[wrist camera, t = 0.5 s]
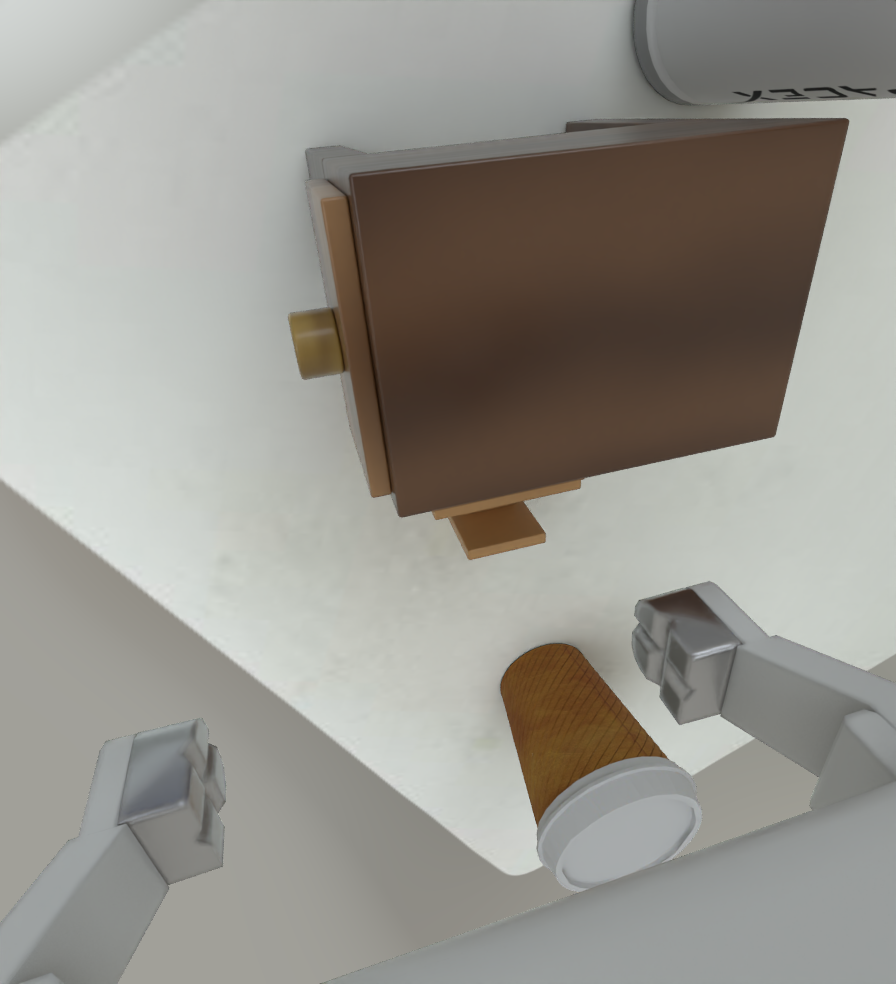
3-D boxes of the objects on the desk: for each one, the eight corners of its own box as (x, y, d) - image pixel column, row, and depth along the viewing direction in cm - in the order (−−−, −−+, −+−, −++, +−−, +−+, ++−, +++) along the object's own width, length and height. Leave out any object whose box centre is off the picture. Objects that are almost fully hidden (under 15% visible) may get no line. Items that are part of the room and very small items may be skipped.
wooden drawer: (396, 365, 28) (421, 408, 24) (541, 341, 30) (589, 377, 25) (416, 517, 33) (439, 576, 29) (541, 490, 34) (581, 542, 30)
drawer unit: (255, 153, 23) (256, 183, 12) (597, 118, 25) (852, 117, 14) (302, 370, 27) (333, 533, 16) (587, 323, 30) (776, 437, 19)
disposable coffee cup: (531, 739, 46) (607, 910, 36) (449, 693, 41) (512, 877, 31) (629, 661, 44) (737, 817, 34) (556, 602, 39) (658, 766, 29)
